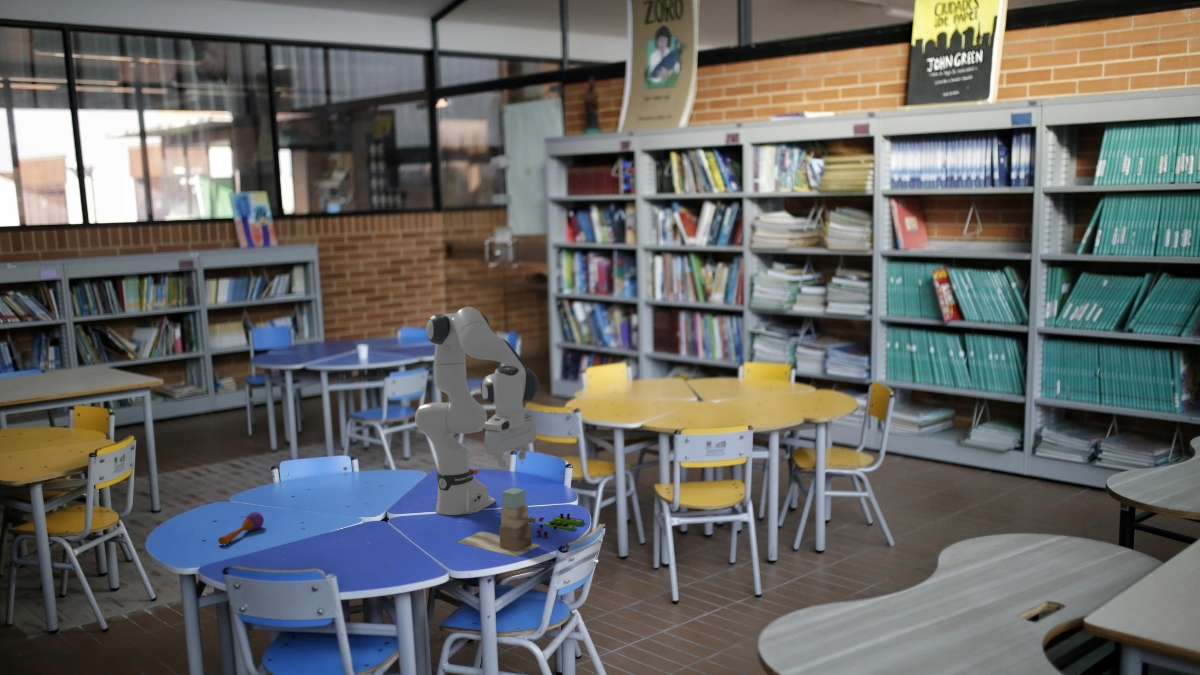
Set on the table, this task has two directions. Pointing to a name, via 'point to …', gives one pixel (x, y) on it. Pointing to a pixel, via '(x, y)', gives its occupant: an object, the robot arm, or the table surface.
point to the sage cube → (513, 498)
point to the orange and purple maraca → (244, 527)
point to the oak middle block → (514, 517)
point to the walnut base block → (515, 537)
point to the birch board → (492, 543)
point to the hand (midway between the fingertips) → (512, 462)
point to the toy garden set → (558, 523)
